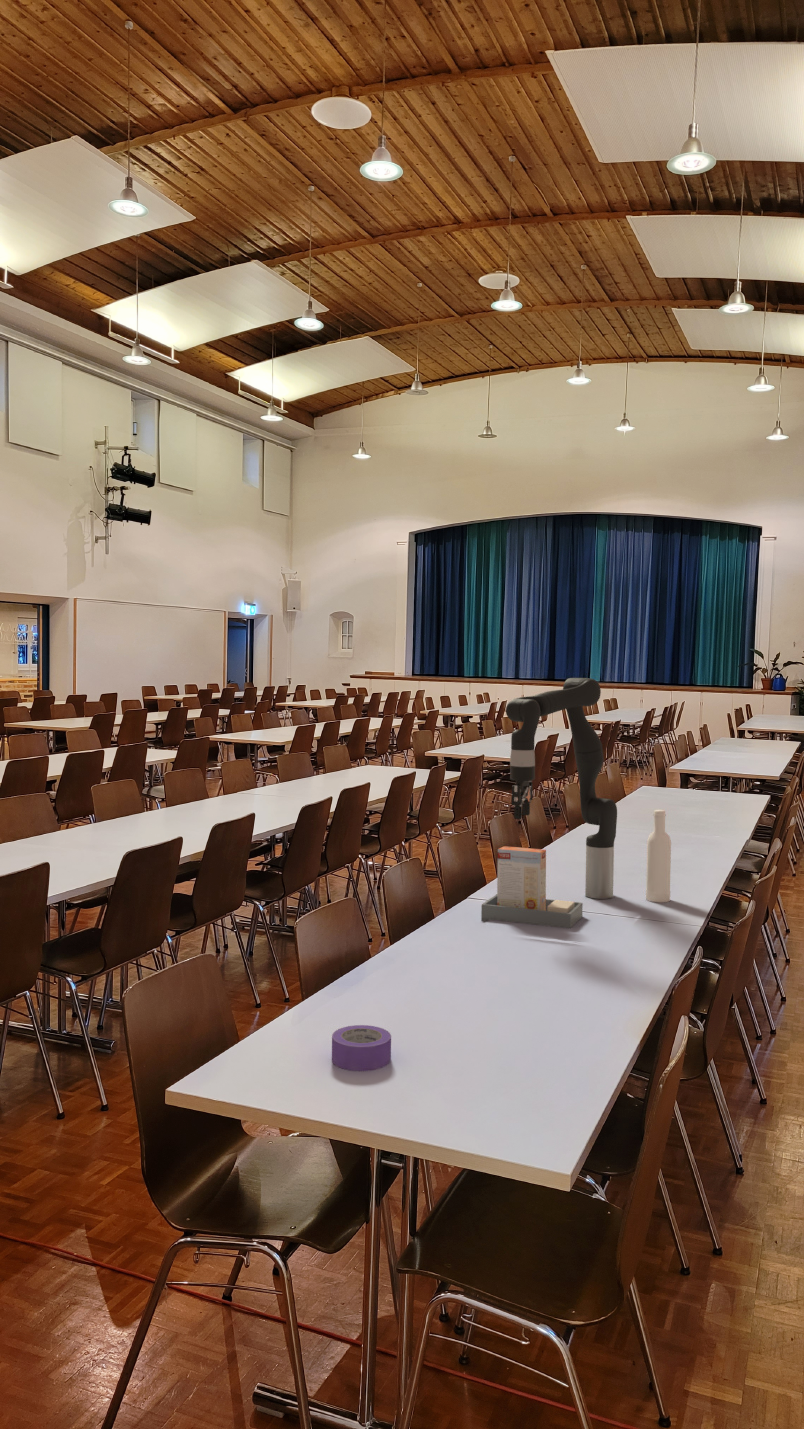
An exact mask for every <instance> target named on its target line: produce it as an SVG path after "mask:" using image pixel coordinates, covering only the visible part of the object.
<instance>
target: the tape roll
mask: <svg viewBox="0 0 804 1429" xmlns="http://www.w3.org/2000/svg"><path fill="white" fill-rule="evenodd" d="M391 1059H392V1035H391V1032H389V1030H386V1029H385V1028H383V1027H379V1026H375V1025H370V1024H369V1025H365V1024H358V1025H348V1026H343V1027H341V1028H338V1029H336V1030H334V1031H333V1032H332V1035H331V1062H332V1063H333V1065H335V1066H336V1067H338V1068H340V1069H343V1070H347V1071H352V1072H368V1071H375V1070H378V1069H383V1068H384V1067H386V1066H388V1065H389V1064H390V1062H391V1061H392V1060H391Z"/></svg>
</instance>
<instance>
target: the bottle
mask: <svg viewBox="0 0 804 1429" xmlns="http://www.w3.org/2000/svg"><path fill="white" fill-rule="evenodd" d="M666 816H667V815H666V810H664V809H654V811H653V831H652V832H650V833H649V834H648V838H647V840H646V874H645V875H646V879H645V880H646V882H645V883H646V884H645V885H646V886H645V888H646V889H645V900H647V901H648V902H652V903H659V904H660V903H668V902H670V901H671V868H672V867H671V862H672V860H671V858H672V857H671V855H672V841H671V837H670V835H669V834H668V833H667V832H666Z"/></svg>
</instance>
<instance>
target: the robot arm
mask: <svg viewBox="0 0 804 1429" xmlns="http://www.w3.org/2000/svg"><path fill="white" fill-rule="evenodd" d="M601 693H602V692H601V686H600V683H599V682H598V681H597V680H595V679H593V678H588V677H570V678H566V680H565V681H564V682H563V687H562V689H556V690H554V689H553V690H547V691H544V692H541V693H537V694H535V695H530V696H522V697H517V698H513V699H511V700H510V701H509V702H508V703H507V705H506V708H505V713H506V714H505V715H506V716H507V718H508V719H509V720H511V721H512V722H515V723H516V722H517V723H519V722H520V723H522V726H521V728H520V729H516V730H514V731H512V733H511V735H510V736H511V738H510V739H511V741H510V742H511V744H510V746H511V747H510V748H511V749H510V758H509V767H510V768H509V772H510V773H509V775H510V776H509V779H510V780H511V781H515V784H514V785H512V786H511V803H510V805H511V806H513V819H515V820H521V819H522V818H523V816H530V814H531V812H530V811H531V808H530V807H531V802H532V800H533V798H534V797H533V795H534V794H533V781H534V780H536V755H535V736H536V733H537V728H538V726H539V721H540V719H541V718H542V717H544V716H548V715H551V714H553V713H557V712H559V711H563V710H566V713H567V718H568V722H569V725H570V726H569V727H570V732H571V738H572V743H573V744H572V745H573V751H574V758H575V764H576V769H577V775H578V784H579V798H580V799H579V801H580V802H579V803H580V812H581V817H582V819H583V821H584V822H585V823H586V824H589V825H593V826H598V832H596V833H593V834H591V835H588V836H587V837H586V838H585V839H586V840H585V891H584V893H585V897H587V898H591V899H597V900H606V899H612V898H614V875H615V873H614V872H615V870H614V869H615V865H614V863H615V840H616V837H617V836H616V834H617V822H618V807H617V803H616V802H615V800H613V799H610V798H604V797H603V798H601V797H597V794H596V781H597V778H598V776H599V774H600V772H601V770H602V767H603V766H604V761H605V760H604V758H605V757H604V750H603V744H602V740H601V738H600V737H599V735H598V734H597V732H596V730H595V729H594V728H593V726H592V725H591V723H590V722H589V721H588V719H587V717H586V714H585V711H584V707H591V706H594V705H596V704H597V703H598V701H600V698H601ZM540 717H541V718H540Z"/></svg>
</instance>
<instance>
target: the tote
mask: <svg viewBox="0 0 804 1429" xmlns="http://www.w3.org/2000/svg"><path fill="white" fill-rule="evenodd" d="M555 900H556V899H548V898H546V911H544V910H534V909H525V908H516V907H506V906H497V894H495V895H493V896H492V897H490V898H489V899H488V900H486V901H485V902H482V904H481V915H480V916H481V922H489V921H490V920H493V921H501V922H502V921H503V922H510V923H511V922H512V923H520V924H530V925H540V926H547V927H554V928H557V927H558V928H563V929H571V928H572V927H574V926H575V925H576V924H577V922H578V921H580V920H581V918H582V917H583V906H584V905H583V902H578V901H577V902H576V901H573V902H574V909H573V910H572V911H570V912H569V913H562V912H553V911H547V909H548V906H549V905H550V904H551V903H552V902H553V901H555Z"/></svg>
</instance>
